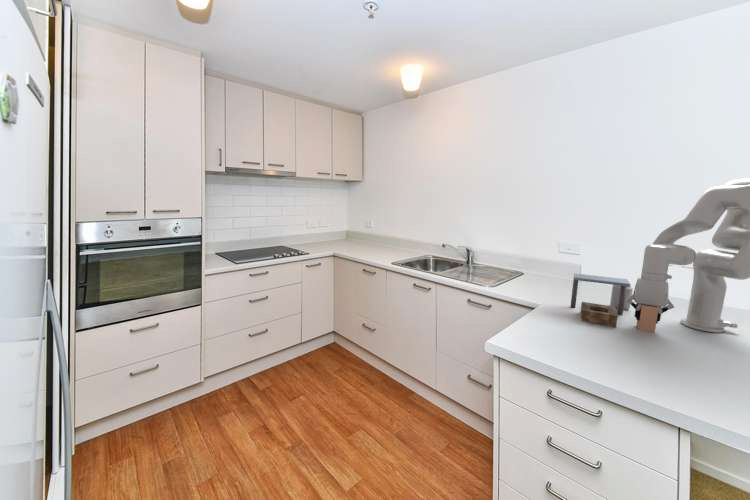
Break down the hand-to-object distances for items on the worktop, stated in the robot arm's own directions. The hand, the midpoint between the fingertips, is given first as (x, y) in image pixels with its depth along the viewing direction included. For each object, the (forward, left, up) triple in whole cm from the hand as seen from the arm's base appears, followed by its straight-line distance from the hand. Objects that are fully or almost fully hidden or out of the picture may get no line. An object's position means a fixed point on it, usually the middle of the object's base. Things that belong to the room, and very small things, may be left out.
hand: (646, 320), depth 129 cm
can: (+6, -25, -4) cm, 26 cm away
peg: (0, 0, -4) cm, 4 cm away
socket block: (+16, -2, -4) cm, 16 cm away
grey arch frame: (+16, -11, -4) cm, 19 cm away
